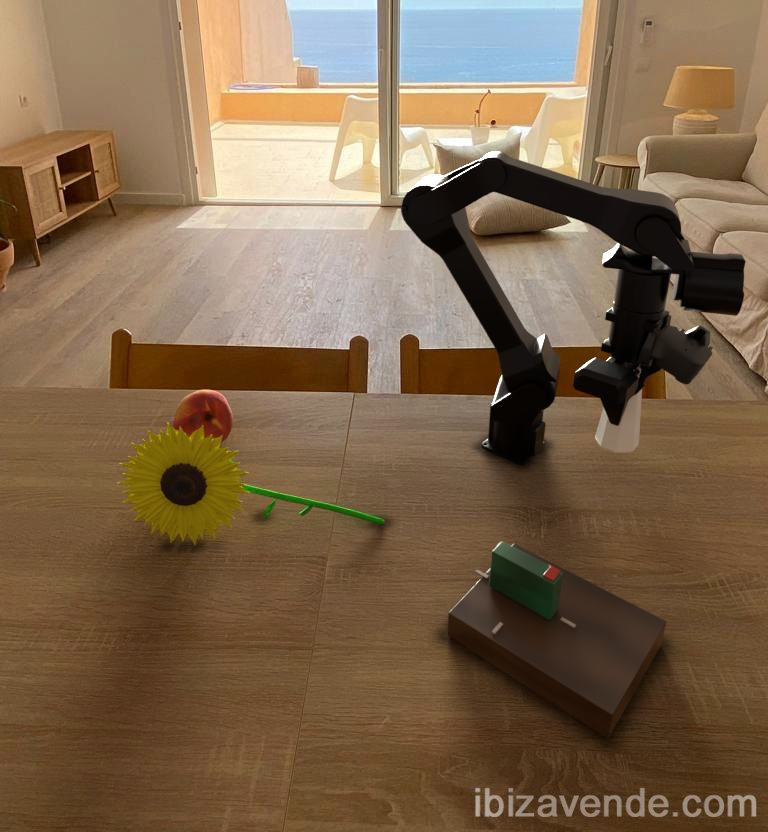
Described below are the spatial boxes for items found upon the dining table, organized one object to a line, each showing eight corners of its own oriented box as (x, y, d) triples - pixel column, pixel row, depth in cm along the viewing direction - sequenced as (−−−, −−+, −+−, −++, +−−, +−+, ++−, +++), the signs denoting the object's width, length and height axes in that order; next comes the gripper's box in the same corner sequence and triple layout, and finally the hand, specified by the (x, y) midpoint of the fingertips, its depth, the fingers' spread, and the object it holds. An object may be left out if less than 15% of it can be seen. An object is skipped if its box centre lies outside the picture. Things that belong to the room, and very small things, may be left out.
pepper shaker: (616, 459, 86) (629, 381, 81) (585, 436, 90) (596, 362, 85) (648, 447, 88) (662, 371, 83) (616, 426, 92) (629, 352, 88)
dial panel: (607, 739, 57) (612, 713, 55) (440, 631, 66) (440, 606, 65) (661, 644, 65) (667, 619, 64) (505, 560, 75) (507, 537, 73)
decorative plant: (401, 460, 80) (145, 392, 77) (403, 483, 75) (127, 411, 72) (365, 568, 83) (118, 506, 81) (365, 598, 78) (100, 533, 75)
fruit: (175, 464, 91) (167, 412, 88) (177, 430, 98) (169, 381, 95) (236, 455, 93) (230, 404, 89) (234, 423, 100) (228, 374, 96)
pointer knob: (489, 586, 68) (491, 549, 66) (498, 575, 69) (501, 538, 67) (549, 621, 64) (554, 582, 62) (558, 609, 65) (563, 570, 63)
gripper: (681, 352, 70) (657, 478, 76) (735, 296, 83) (710, 408, 89) (578, 323, 76) (564, 441, 83) (643, 275, 89) (626, 381, 96)
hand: (621, 417), depth 87 cm, fingers closed on pepper shaker, 4 cm apart
